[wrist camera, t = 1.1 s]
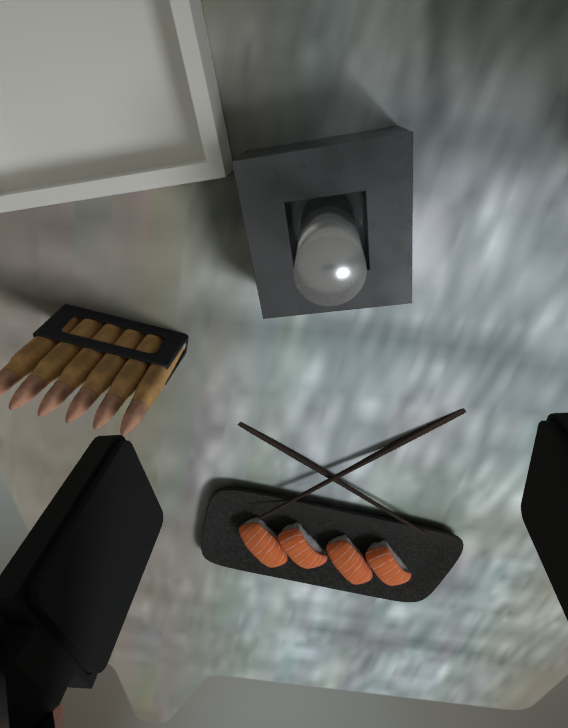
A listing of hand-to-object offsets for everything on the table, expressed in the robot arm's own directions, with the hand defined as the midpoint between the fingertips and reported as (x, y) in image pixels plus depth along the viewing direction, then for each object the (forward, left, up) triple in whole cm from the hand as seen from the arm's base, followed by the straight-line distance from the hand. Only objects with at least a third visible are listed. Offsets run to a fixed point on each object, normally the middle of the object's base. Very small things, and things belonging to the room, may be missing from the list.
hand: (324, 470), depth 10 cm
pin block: (0, 0, -24) cm, 24 cm away
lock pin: (0, 0, -23) cm, 23 cm away
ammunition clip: (+18, +7, -24) cm, 31 cm away
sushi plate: (+1, +30, -25) cm, 39 cm away
